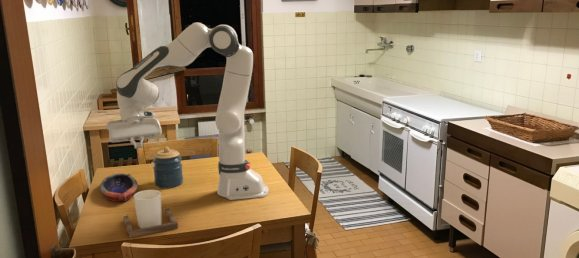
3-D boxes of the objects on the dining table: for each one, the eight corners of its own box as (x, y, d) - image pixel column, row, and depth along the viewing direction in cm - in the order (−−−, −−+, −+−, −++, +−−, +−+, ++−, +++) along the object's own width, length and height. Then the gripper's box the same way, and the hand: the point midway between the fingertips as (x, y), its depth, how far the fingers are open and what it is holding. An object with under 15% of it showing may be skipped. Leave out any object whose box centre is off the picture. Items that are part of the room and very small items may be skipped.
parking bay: (124, 221, 177) (123, 216, 177) (169, 212, 184) (168, 207, 184) (129, 238, 164) (129, 232, 163) (178, 228, 171) (177, 223, 170)
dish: (135, 179, 223) (134, 169, 222) (140, 202, 195) (139, 191, 194) (100, 184, 217) (99, 174, 216) (100, 208, 190) (99, 197, 188)
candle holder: (130, 228, 171) (127, 197, 169) (147, 217, 180) (145, 188, 177) (152, 232, 168) (149, 201, 165) (169, 221, 177) (166, 191, 174)
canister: (149, 187, 211) (146, 150, 207) (162, 178, 224) (159, 142, 220) (176, 189, 209) (174, 151, 205) (187, 179, 222) (185, 143, 217)
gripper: (105, 117, 184) (111, 147, 178) (158, 111, 193) (165, 140, 187) (105, 126, 189) (111, 155, 183) (157, 120, 198) (163, 148, 192)
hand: (138, 147), depth 185 cm, fingers closed
